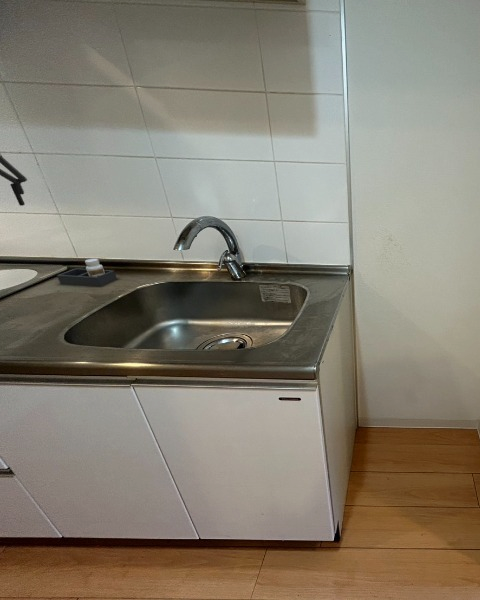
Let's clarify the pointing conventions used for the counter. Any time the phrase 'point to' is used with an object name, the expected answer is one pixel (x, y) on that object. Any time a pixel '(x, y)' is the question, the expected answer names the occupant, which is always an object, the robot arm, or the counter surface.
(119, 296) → the counter surface
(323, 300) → the counter surface
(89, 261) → the pill bottle
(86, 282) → the grey divided tray
